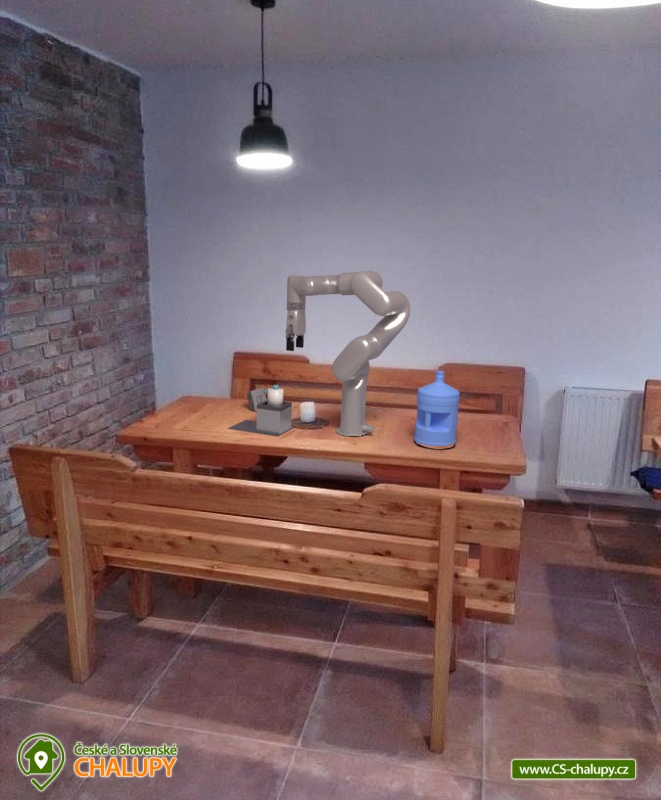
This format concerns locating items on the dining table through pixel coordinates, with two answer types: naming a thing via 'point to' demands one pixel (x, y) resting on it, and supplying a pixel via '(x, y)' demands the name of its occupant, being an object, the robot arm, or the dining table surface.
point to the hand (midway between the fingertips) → (294, 349)
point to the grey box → (268, 420)
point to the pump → (274, 396)
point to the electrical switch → (256, 398)
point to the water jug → (437, 413)
